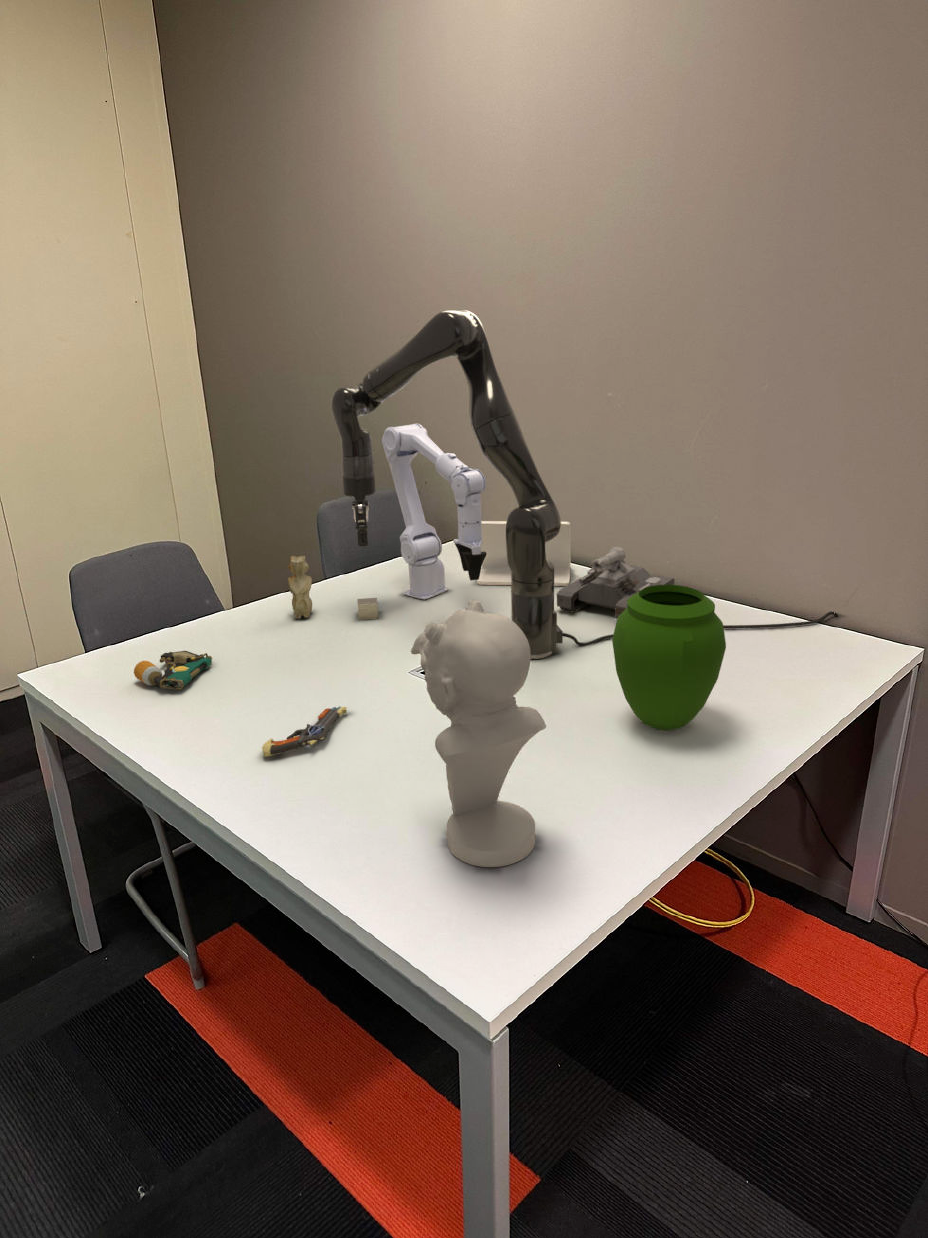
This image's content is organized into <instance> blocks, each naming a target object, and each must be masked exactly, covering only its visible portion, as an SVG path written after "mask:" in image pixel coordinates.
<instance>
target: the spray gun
mask: <svg viewBox="0 0 928 1238" xmlns="http://www.w3.org/2000/svg"><path fill="white" fill-rule="evenodd" d="M212 660H213V657H212V656H211V655H208V653H207V652H205V653H201V654H197V653H194V652H192V651H191V652H190V651H188V650H180V651H169V652H164V653H162V654H161V655H160V658H159V660H158V662H159V663H161V664H163V663H165V664H166V668H165V670H163V672H164V674H163V673H162V669H160V668H159V666H157V665H156V664H154V663H152V662H151V661H149V660H141V661H139V662H138V663H136V665H135V666H134V668H133V675H134V677H135V678H136V679H137V680H139V681H140V682H142V683H143V684H145V685H147V686H155V685H157V686H158V687H160V688H161V689H171V690H172V689H173V690H182V689H184V687H185V686H186V685H188V684H189V683H190V682H191V681H192V679H193V678H195V677H196V676H197V675H198V674H200V673H201V672H202V671H203V670H206V669H208V668H209V667H210V666H211V665H212V662H213V661H212ZM178 663H179V664H181V665H179V666H176V665H177V664H178Z"/></svg>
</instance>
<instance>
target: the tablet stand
mask: <svg viewBox="0 0 928 1238" xmlns="http://www.w3.org/2000/svg"><path fill="white" fill-rule="evenodd" d="M506 522H507V520H505V521H504V520H481V524H482V538H483V542H482V544H481V552H486V553H487V554H486V557H485V559H484V561H483V564H482V567H481V572H480V577H479V580H476V581H477V582H476V584H478V585H484V586H485V585H486V586H487V585H489V586H490V585H491V586H511V570H510V568H509V565H508V562H507V550H506ZM545 551H546V560H548V561H550V562H551V563H552V564H553V565H554V587H556V586H557V587H566V586H567V585H569V584H570V580H571V579H570V578H571V565H572V564H571V560H572V558H571V522H569V521H561V528H560V531H559V533H558V535H557V536H556V537H555V538H554V539H552V540H551V541H549V542H547V543H545Z"/></svg>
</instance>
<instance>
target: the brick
mask: <svg viewBox="0 0 928 1238" xmlns="http://www.w3.org/2000/svg"><path fill="white" fill-rule="evenodd" d="M378 608H379V607H378V598H377V597H366V598H357V615H358V621H364V620H378V619H379V609H378Z"/></svg>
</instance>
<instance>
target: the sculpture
mask: <svg viewBox="0 0 928 1238" xmlns="http://www.w3.org/2000/svg"><path fill="white" fill-rule="evenodd" d="M309 568H310V567H309V564H308V563H307V562H306V555H303V554H302V555H300V556H295V555H291V556H290V564H288V565H287V569H288V570H289V571H290V572H291V573H292V576H290V577H288V578H287V583H288V587H289V593H291V594H292V599H291V607H292V610H293V614H294V617H295V619H301V618H302V616H303V617H304V618H306V619H307V618H310V616H311V613H312V612H313V600H312V599H311V596H310V591H311V589H312V585H313V580H312V577H311V576H310V575H308V574H307V575H306V572H308V571H309V570H310V569H309Z"/></svg>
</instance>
